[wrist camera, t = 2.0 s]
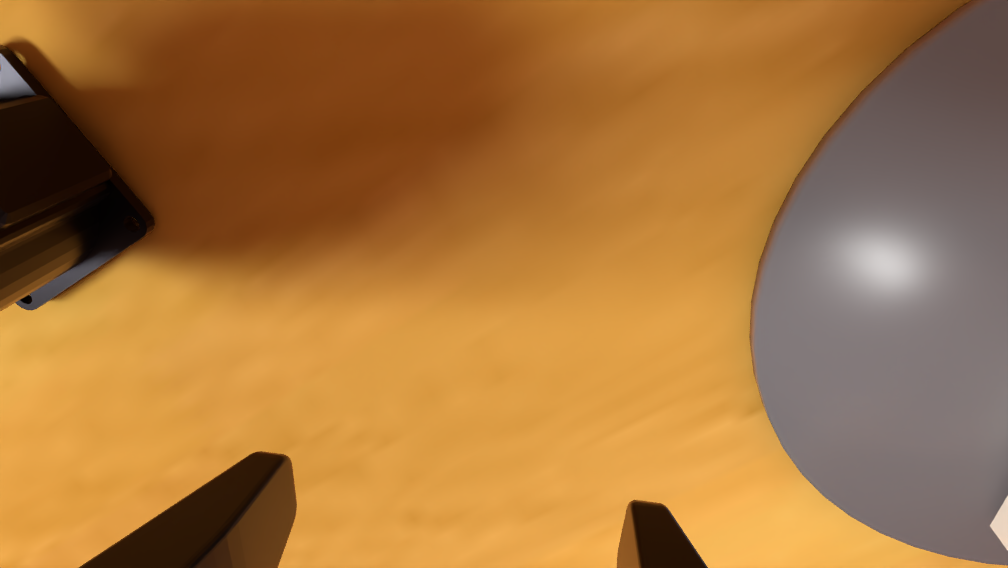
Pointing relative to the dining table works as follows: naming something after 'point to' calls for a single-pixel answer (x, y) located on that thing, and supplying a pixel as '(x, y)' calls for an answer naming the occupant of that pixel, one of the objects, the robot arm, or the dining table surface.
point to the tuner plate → (900, 297)
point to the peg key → (1001, 523)
